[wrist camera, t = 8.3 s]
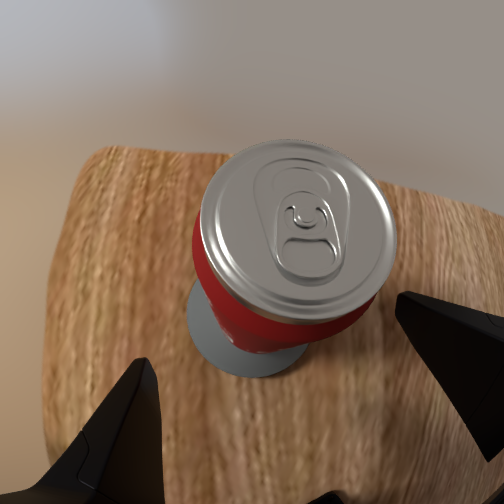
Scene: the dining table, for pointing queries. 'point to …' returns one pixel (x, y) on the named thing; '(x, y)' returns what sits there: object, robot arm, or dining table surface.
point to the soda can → (291, 244)
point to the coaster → (223, 350)
